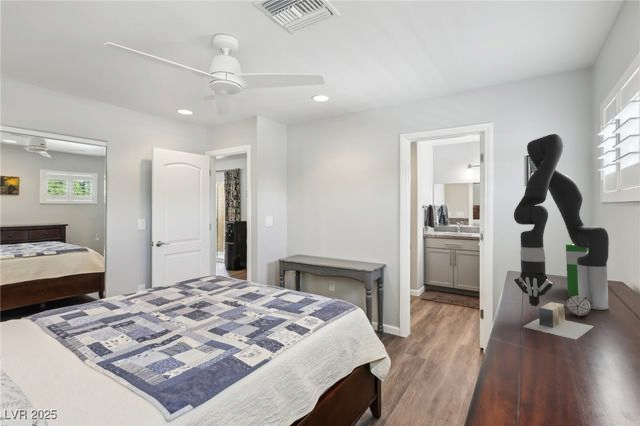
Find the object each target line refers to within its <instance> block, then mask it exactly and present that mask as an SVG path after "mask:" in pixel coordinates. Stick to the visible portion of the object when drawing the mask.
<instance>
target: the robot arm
mask: <svg viewBox="0 0 640 426" xmlns="http://www.w3.org/2000/svg"><path fill="white" fill-rule="evenodd" d="M564 147H565V145H564V141H563V138H562V137H561V136H560V135H559V134H556V133H551V134H547V135H544V136H541V137H539V138H535V139H533V140H531V141H529V142H528V143H527V145H526V150H527V155H528V157H529V158H530V160H531V162H532V163H533V165H534V166H535V167H536V170H535V171H534V173H532V174H531V176H530V177H529V179H528V180H527V183H526V185H525V186H526V187H525V190H524V195H523V196H522V198H521V199H520V201H519V203H518V204H517V206H516V207H515V209H514V212H513V218H514V221H515V223H516V224H519V225H521V226H522V225H526V226H527V225H534V226H533V228H532V229H531V230H524V231H522V232H521V233H520V235H519V237H520V253H519V255H520V271H521V273H520V274H519V275H520V276H519V277H517V278H516V277H515V278H514V280H513V281H514V282H515V284H516V285H517V286H518V287H519V289H520V290H521V291H522V293H523V294H526V295H528V302H529V304H530V305H531V306H532V307H538V306H540V297H542V296H545V295H546V294H547V293H548V292H549V291H550V290H551V289H552V288H554V286H555V283H554V282H552V281H550V280H549V279H548V277H547V274H546V255H545V248H544V233H545V230H546V225H547V222H548V220H549V211H548V209H547V208H546V207H545V206H543V205H542V204H543V203H545V201H546V200H547V196H548V191H549V193H550V196H551V198H552V200H553V201H554V203H555V205H556V207H557V208H558V211H559V213H560V216H561V218H562V219H563V222H564V224H565V228H566V230H567V232H568V233H567V234H568V237H569V239H570V241H571V242H573V244H574V245H575V246H577V247H580V248H589V249H588V254H587V255H585V256H582V257H578V258H577V271H578V292H579V296H580V297H583V298H585V297H587V298H586V300H587V301H588V302H589V303H593V304H590V310H591V309H592V310H600V311H601V310H604V311H605V310H608V309H609V286H608V267H607V266H608V265H607V262H608V259H609V246H610V245H609V243H610V241H609V238H610V237H609V233H608V231H607V230H606V229H605V228H604V227H602V226H594V225H593V226H586V225H585V224H584V223H583V220H582V218H581V215H580V212H581V207H582V204H583V198H584V197H583V194H582V192H581V191H580V188H579V186H578V184H577V183H576V181H575V180H574V179H572V178H571V177H570V176H569V175H566V174H564V173H563V172H561V171H560V170H558V168H557V166H558V164H559V162H560V160H561V157H562V156H563V153H564ZM556 168H557V169H556ZM543 285H544V288H542V286H543Z"/></svg>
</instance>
